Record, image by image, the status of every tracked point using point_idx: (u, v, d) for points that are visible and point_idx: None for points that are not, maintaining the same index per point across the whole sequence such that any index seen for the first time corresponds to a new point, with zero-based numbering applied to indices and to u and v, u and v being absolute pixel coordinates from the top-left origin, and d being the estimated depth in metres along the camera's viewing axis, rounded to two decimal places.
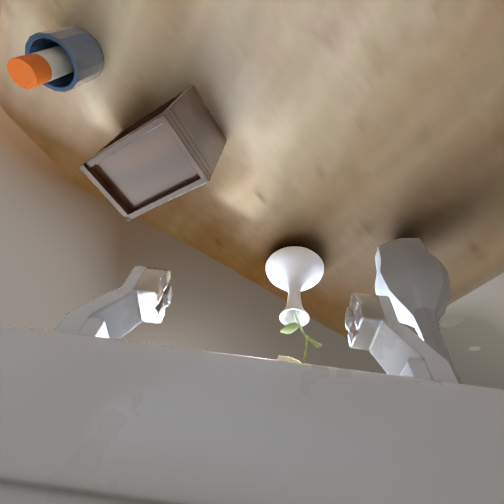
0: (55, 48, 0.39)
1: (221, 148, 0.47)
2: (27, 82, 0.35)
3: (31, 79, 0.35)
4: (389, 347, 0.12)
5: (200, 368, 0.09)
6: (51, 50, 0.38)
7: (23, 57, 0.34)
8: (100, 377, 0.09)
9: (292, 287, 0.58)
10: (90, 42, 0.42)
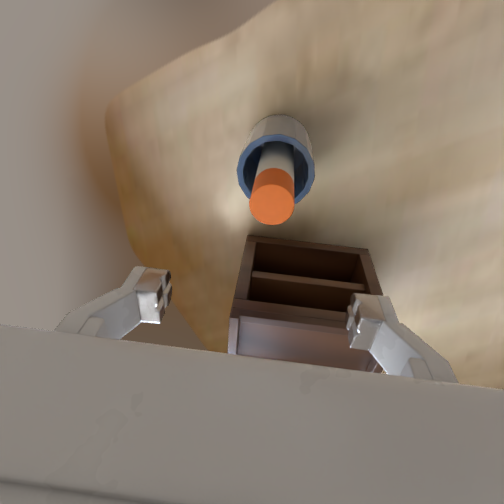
0: (289, 157, 0.26)
1: None
2: (267, 216, 0.22)
3: (277, 217, 0.22)
4: (389, 347, 0.12)
5: (200, 368, 0.09)
6: (291, 164, 0.25)
7: (289, 187, 0.21)
8: (100, 377, 0.09)
9: None
10: None
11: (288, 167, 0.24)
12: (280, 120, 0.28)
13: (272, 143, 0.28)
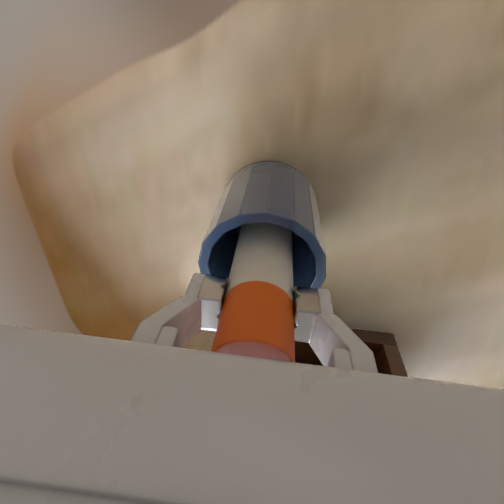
0: (285, 242, 0.16)
1: None
2: None
3: None
4: (323, 339, 0.12)
5: (200, 368, 0.09)
6: (287, 257, 0.15)
7: (285, 335, 0.11)
8: (100, 377, 0.09)
9: None
10: None
11: (283, 271, 0.14)
12: (270, 175, 0.18)
13: None
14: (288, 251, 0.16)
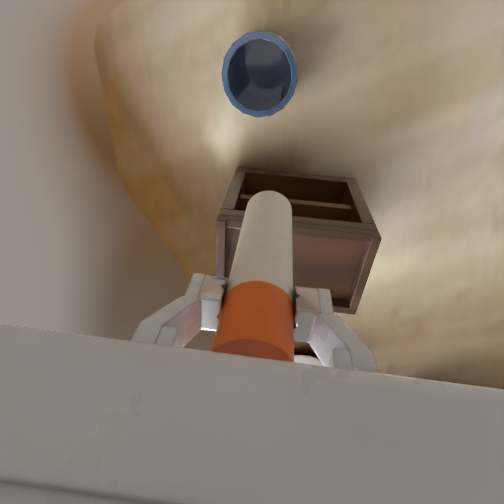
0: (285, 242, 0.16)
1: None
2: None
3: None
4: (323, 339, 0.12)
5: (200, 368, 0.09)
6: (287, 257, 0.15)
7: (284, 335, 0.11)
8: (100, 377, 0.09)
9: None
10: None
11: (283, 271, 0.14)
12: None
13: (258, 211, 0.18)
14: (288, 251, 0.16)
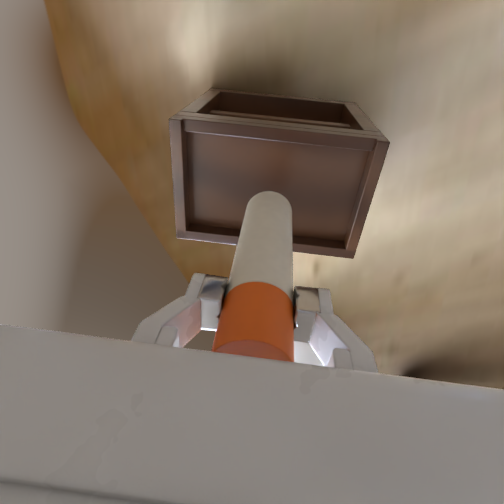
0: (285, 243, 0.16)
1: None
2: None
3: None
4: (323, 339, 0.12)
5: (200, 368, 0.09)
6: (287, 258, 0.15)
7: (284, 336, 0.11)
8: (100, 377, 0.09)
9: None
10: None
11: (283, 272, 0.14)
12: None
13: (258, 212, 0.18)
14: (288, 252, 0.16)
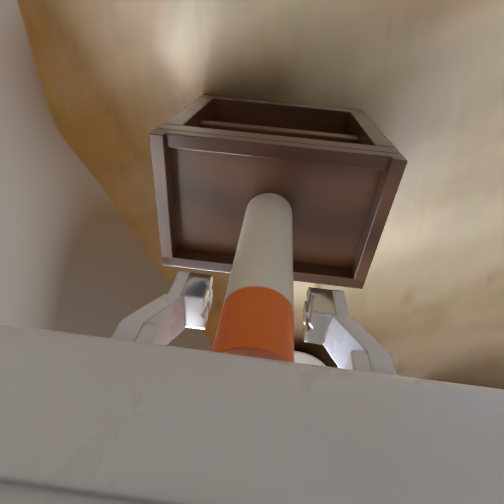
0: (286, 246, 0.16)
1: None
2: None
3: None
4: (339, 341, 0.12)
5: (200, 368, 0.09)
6: (288, 261, 0.15)
7: (284, 342, 0.11)
8: (100, 377, 0.09)
9: None
10: None
11: (283, 276, 0.14)
12: None
13: (258, 214, 0.18)
14: (288, 255, 0.16)
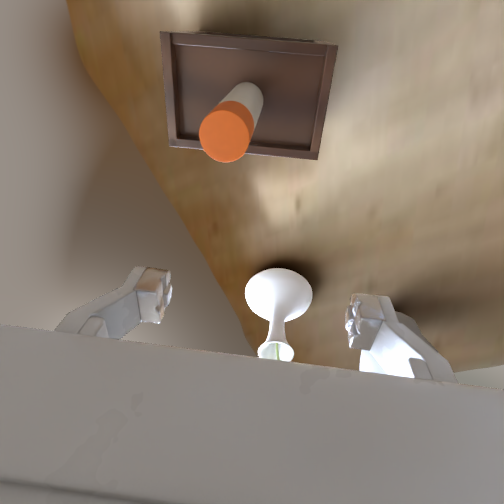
0: (253, 98, 0.24)
1: None
2: (220, 151, 0.19)
3: (232, 152, 0.19)
4: (389, 347, 0.12)
5: (200, 368, 0.09)
6: (253, 103, 0.23)
7: (243, 116, 0.19)
8: (100, 377, 0.09)
9: (279, 316, 0.49)
10: None
11: (248, 103, 0.22)
12: None
13: (236, 87, 0.26)
14: (254, 102, 0.23)
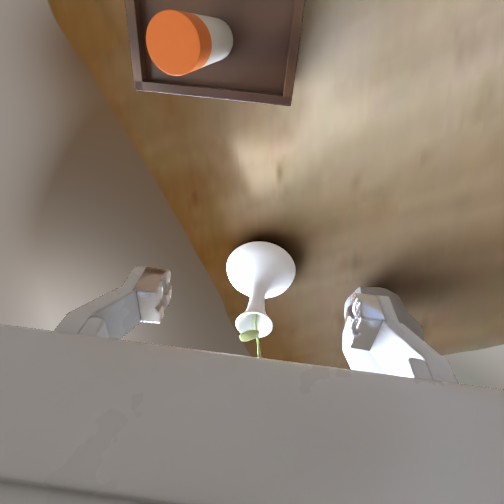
0: (215, 24, 0.22)
1: None
2: (170, 61, 0.18)
3: (183, 63, 0.18)
4: (389, 347, 0.12)
5: (200, 368, 0.09)
6: (214, 26, 0.21)
7: (195, 21, 0.17)
8: (100, 377, 0.09)
9: (259, 289, 0.48)
10: None
11: (206, 20, 0.20)
12: None
13: None
14: (216, 26, 0.22)
